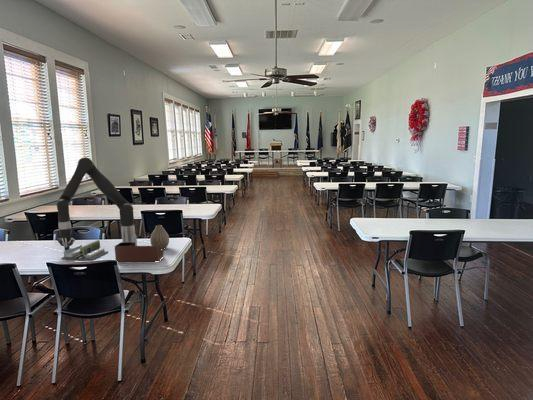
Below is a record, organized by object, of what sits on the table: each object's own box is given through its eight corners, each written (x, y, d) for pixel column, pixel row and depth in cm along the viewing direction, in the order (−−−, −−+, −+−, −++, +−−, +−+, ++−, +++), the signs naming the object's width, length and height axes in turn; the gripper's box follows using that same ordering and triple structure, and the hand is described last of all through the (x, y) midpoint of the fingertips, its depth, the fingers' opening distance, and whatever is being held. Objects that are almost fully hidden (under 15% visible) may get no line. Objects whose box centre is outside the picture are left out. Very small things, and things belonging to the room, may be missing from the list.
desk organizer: (121, 258, 243) (120, 242, 242) (164, 257, 242) (163, 241, 241) (114, 263, 233) (113, 246, 231) (159, 262, 232) (158, 246, 230)
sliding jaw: (87, 250, 257) (86, 245, 257) (72, 257, 242) (71, 251, 241) (79, 250, 258) (79, 244, 258) (64, 257, 243) (63, 251, 242)
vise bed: (108, 252, 256) (107, 247, 255) (92, 260, 238) (91, 255, 238) (79, 251, 260) (79, 246, 259) (61, 259, 242) (61, 254, 242)
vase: (158, 252, 253) (156, 228, 250) (147, 249, 261) (145, 226, 258) (173, 248, 263) (171, 225, 261) (162, 245, 271) (160, 223, 269)
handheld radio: (101, 249, 261) (79, 259, 236) (97, 249, 261) (74, 259, 237) (100, 240, 260) (77, 250, 235) (96, 240, 260) (73, 250, 236)
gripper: (77, 226, 251) (79, 250, 253) (60, 226, 253) (62, 250, 256) (69, 229, 244) (72, 253, 246) (52, 228, 246) (55, 253, 248)
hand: (67, 251), depth 251 cm, fingers closed
